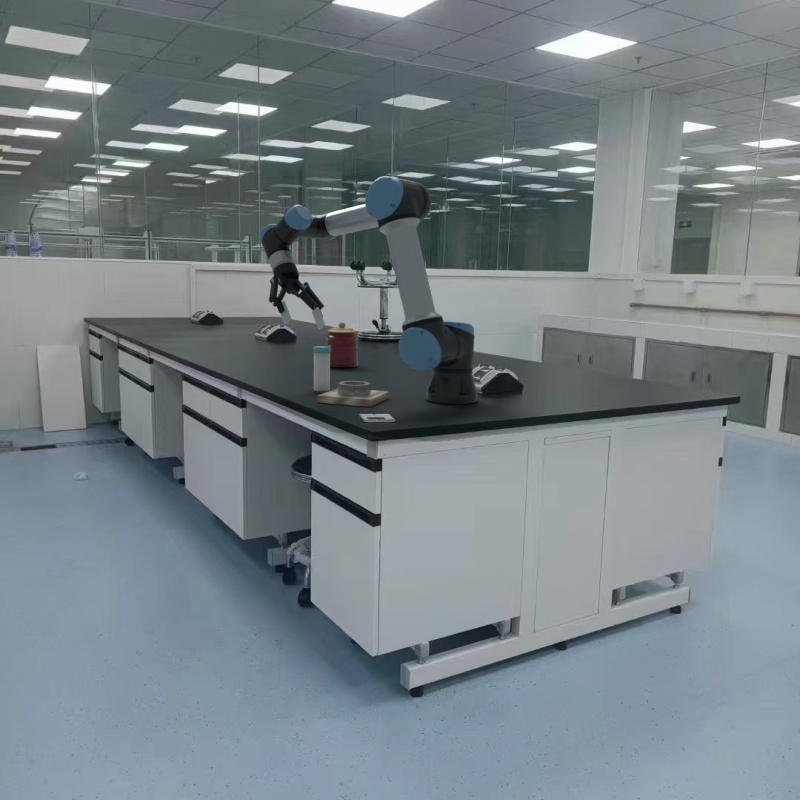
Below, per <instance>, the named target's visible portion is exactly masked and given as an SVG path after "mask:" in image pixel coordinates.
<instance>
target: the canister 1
mask: <svg viewBox="0 0 800 800" xmlns="http://www.w3.org/2000/svg"><path fill="white" fill-rule="evenodd" d="M312 348H313V349H312V353H313V391H314V392H329V391H331V386H330V384H331V383H330V382H331V381H330V380H331V377H330V376H331V375H330V374H331V367H330V352H331V347H328V346H326V345H325V346H324V345H321V346H320V345H317V346H313V347H312Z"/></svg>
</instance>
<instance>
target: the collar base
mask: <svg viewBox="0 0 800 800" xmlns="http://www.w3.org/2000/svg"><path fill="white" fill-rule="evenodd" d="M371 385H372V384H371V383H370V382H367V381H359V380H346V381H345V380H343V381H340V382H337V388H335V389H330V390H329V391H325V392H322V393H321V394H317V395H316V396H317V400H316V403H320V404H321V403H322V404H331V405H332V404H333V405H344V406H357V407H368V408H369V407H370V408H371V407H373V406H375V405H377V404H379V403H383V402H384V401H387V400H389V399H390V391H387V390H375V389H374V390H371V389H372V387H371Z"/></svg>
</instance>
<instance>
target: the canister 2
mask: <svg viewBox="0 0 800 800" xmlns="http://www.w3.org/2000/svg"><path fill="white" fill-rule="evenodd" d="M327 332H328V334H327V335H326V336H325V339H326V344H325V346H328V347H331V352H330V368H334V367H344V368H343V369H345V367H352V368H357V367H358V364H359V363H358V362H359V360H358V350H359V349H358V347H359V345H358V339H359V336H358V335H356V332H357V330H356V329H354V328H353V327H346V323H345V322H342V321H341V322H339V323H338V326H336V327H331V328H329V329H328V330H327ZM356 366H357V367H356Z"/></svg>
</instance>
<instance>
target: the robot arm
mask: <svg viewBox="0 0 800 800" xmlns="http://www.w3.org/2000/svg"><path fill="white" fill-rule="evenodd" d="M431 196H432V195H431V194H430V191H429V190H428V189H427V188H426V187H425V186H424V185H423V184H422V183H420V182H417V181H414V180H409V179H403V178H400V177H397V176H394V175H393V176H387V175H385V176H379V177H378V178H376V179H374V181H372V182H371V184H370V185H369V188H368V190H366V194H365V199H364V202H365V203H364V204H363V203H362V204H359V205H356V206H355V205H354V206H352V207H348V208H344V209H339V210H335V211H331V212H329V213H328V212H327V213H323V214H312V212H311V211H310V210H309V209H308V208H307V207H305V206H303V205H301V204H295V205H293V206H292V207H291V208H289V210H287V211H286V212H285V214H284V215H283V216H282V218H281V219H280V220H279V221H278V222H277V223H271V224H267V225H266V226H264V227H262V228H261V230H260V232H259V236H260V241H261V245H262V248H263V250H264V252H265V255H266V257H267V259H268V262H269V266H270V267H271V270H272V274H273V276H272V277H271V279H269V283H270V288H269V289H270V290H269V296H268V302H269V303H271V304H272V306H273V307H274V308H276V309H277V311H278V313H279V314H280V316H281V319H282V322H283V324H284V325H287V324H288V323H289V322H290V321H291V320H292V317H291V314H290V312H289V308H288V306H287V303H286V301H284V300H283V299H284V298H285V296H286V294H288V295H292V296H296V298H299V299H301V301H302V302H304V304H305V305H306V306H307V307H309V309H311V310H312V312H311V314H312V316H313V318H314V322H315V324H316V327H317V329H318V330H322V328H323V327H324V326H326V322H325V320H324V315H323V313H322V309H323V308H325V305H324V304H323V302H322V301H321V300H320V298H319V297H318V296H317V294H315V292H314V291H313V290H312V288H311V286H310V285H309V282H307V281H305V282H304V283H302V282H301V281H300V279H299V278H300V273H299V270H298V268H297V265H296V262H295V260H294V257H293V255H292V252H291V249H290V246H291V245H293V244H294V243H295V241H296V240H297V239H299V238H302V239H305V238H306V239H313V240H323V241H331V240H334V239H336V237H338V236H342V235H347V234H352V233H355V232H360V231H365V230H369V229H375V228H378V230H379V232H380V233H382V234H383V235H384V236H385V237H386V240H387V245H388V249H389V250H388V251H389V254H390V257H391V262H392V266H393V270H394V276H395V279H396V284H397V287H398V292H399V297H400V300H401V305H402V308H403V313H404V321H403V323H402V324H401V329H402V334H401V335H400V339H399V340H398V352H399V355H400V357H401V359H402V360H403V362H404V364H406V365H407V366H409V367H411V368H412V369H414V370H419V371H422V370H423V371H430V370H432V376H431V379H430V381H429V384H428V386H427V389H426V394H425V395H426V397H425V399H426V400H427V401H429V402H433V403H436V404H437V403H438V404H446V405H447V404H449V405H467V404H472V403H473V404H474V403H476V402H478V391H477V386H476V382H475V380H474V376H473V370H474V369H473V367H474V366H473V365H474V351H475V350H474V349H475V348H474V347H475V328H474V326H473V325H472V324H470V323H467V322H458V321H450V320H444V319H443V315H441V314H440V313H438V312H437V311H436V309H435V304H434V300H433V296H432V291H431V286H430V281H429V278H428V277H429V276H428V274H427V270H426V269H427V268H426V266H425V261H424V257H423V252H422V248H421V243H420V239H419V235H418V231H417V227H418V225H420V222H422V221H423V220H425V219H426V218H427V216H428V215H429V213H430V211H431V208H432V197H431ZM279 286H280V288H281V289H280V290H278V289H279ZM278 292H279V293H278Z"/></svg>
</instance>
